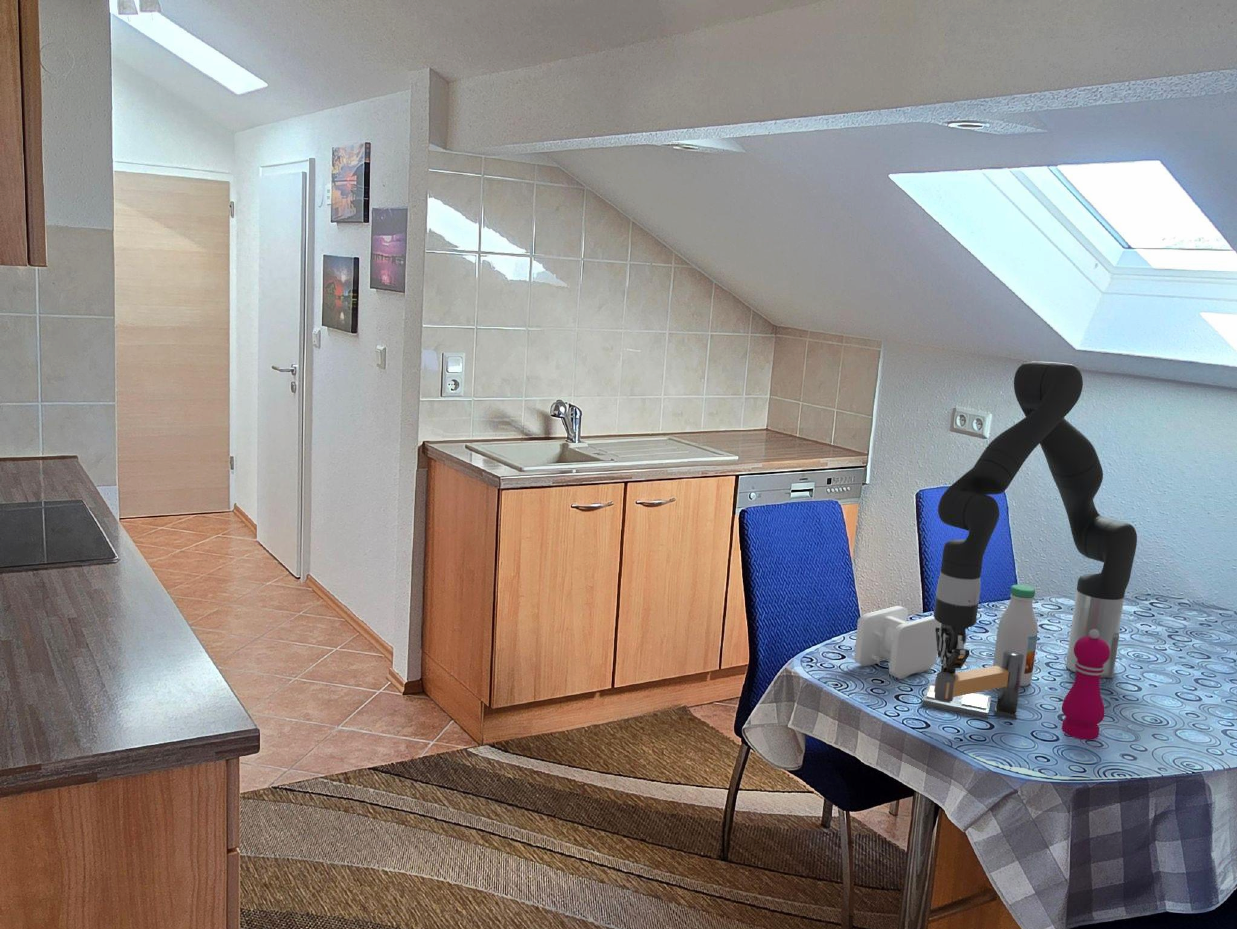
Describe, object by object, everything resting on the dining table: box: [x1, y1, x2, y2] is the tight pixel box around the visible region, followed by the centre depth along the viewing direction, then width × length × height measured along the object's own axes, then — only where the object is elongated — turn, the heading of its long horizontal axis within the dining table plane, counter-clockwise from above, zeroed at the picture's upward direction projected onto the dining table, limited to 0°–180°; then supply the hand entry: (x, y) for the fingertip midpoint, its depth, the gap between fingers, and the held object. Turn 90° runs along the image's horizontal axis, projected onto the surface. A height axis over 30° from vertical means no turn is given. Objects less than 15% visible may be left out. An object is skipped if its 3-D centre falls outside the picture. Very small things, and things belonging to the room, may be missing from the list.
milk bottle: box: [992, 584, 1039, 687], centre depth 215 cm, size 8×8×20 cm
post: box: [993, 651, 1024, 721], centre depth 199 cm, size 4×4×12 cm
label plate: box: [921, 683, 992, 720], centre depth 203 cm, size 12×9×2 cm
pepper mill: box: [1061, 629, 1110, 741], centre depth 191 cm, size 7×7×20 cm
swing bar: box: [934, 665, 1009, 702], centre depth 193 cm, size 16×3×4 cm, turn 118°
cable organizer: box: [853, 605, 941, 680], centre depth 219 cm, size 15×11×12 cm
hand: (946, 684), depth 196 cm, fingers closed
